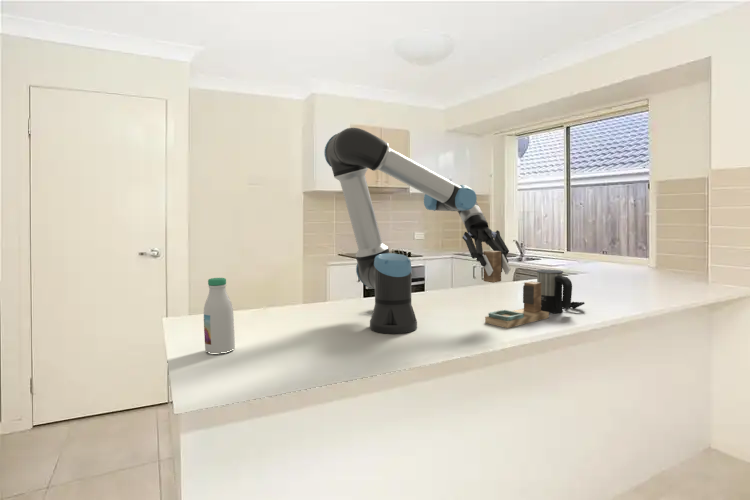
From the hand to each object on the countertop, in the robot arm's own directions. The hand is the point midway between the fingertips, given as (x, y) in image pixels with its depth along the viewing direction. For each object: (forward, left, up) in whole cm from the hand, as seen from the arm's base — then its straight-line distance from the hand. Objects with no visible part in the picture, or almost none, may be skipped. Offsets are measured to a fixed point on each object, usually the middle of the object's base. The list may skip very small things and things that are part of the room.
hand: (499, 272), depth 148 cm
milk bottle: (-82, +28, -17) cm, 88 cm away
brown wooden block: (+1, +4, -3) cm, 5 cm away
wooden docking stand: (+9, 0, -17) cm, 19 cm away
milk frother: (+33, 0, -17) cm, 38 cm away
